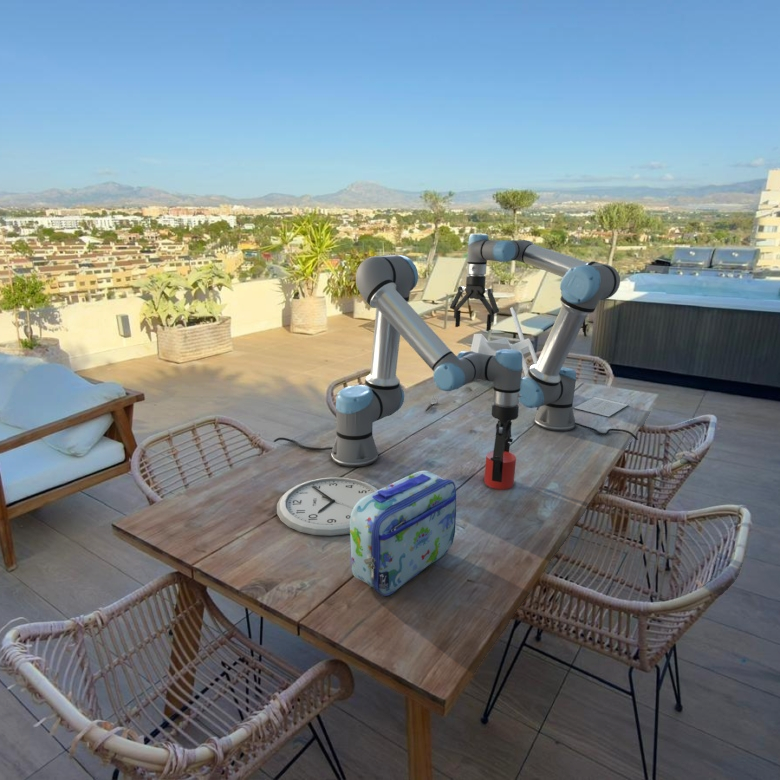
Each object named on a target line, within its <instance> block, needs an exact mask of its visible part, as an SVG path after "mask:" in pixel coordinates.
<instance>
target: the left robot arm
mask: <svg viewBox="0 0 780 780" xmlns="http://www.w3.org/2000/svg"><path fill="white" fill-rule="evenodd" d="M418 281H419V272H418V269H417V266H416V264H415V263H414V262H413V260H412V259H411V258H409V257H407V256H406V255H398V254H391V255H390V254H389V255H374V256H370V257H367V258H366V259H364V260H363V261H362V262H361V263H360V264H359V265H358V267H357V270H356V272H355V285H356V287H357V290H358V291H359V294H360V295H361V297H362V298H363V300H364V301H365V302H366V303H367V304H368V306H370V307H371V308H372V309H375V317H374V318H375V319H374V327H373V328H374V331H373V341H372V352H371V361H370V362H371V363H370V373H369V374H368V375H366V376H365V380H364V385H363V384H354V385H348V386H345V387H343V388H342V389H340V390H339V391H338V392H337V394H336V398H335V399H336V400H335V410H336V411H335V418H336V419H335V421H336V437H335V440H334V443H333V445H332V446H327V447H326V446H325V447H313V446H305V445H302V444H300V443H299V441H296V440H294V439H290V438H287V437H276V438H275V439H274V440H273V441H272V442H273V443H276V442H278V441H285V442H286V441H287V442H290V443H293V444H295V445H296V446H298V447H299V448H302V449H305V450H312V451H328V450H331V455H330V456H331V460H332V462H333V463H335V464H336V465H339V466H340V467H341V466H342V467H347V468H362V467H367V466H370V465H372V464H374V463H376V462H377V460H378V459H379V451H378V448H377V444H376V442H375V439H374V436H373V425H374V424H373V423H375V422H377V421H379V420H382V419H384V418H386V417H389V416H393V415H394V414H395V413H396V412H398V411H399V410H400V409H401V408H402V406H403V404H404V402H405V391H404V389H403V388H402V387H403V386H402V385H401V384H400V383H401V381H400V378H399V377H398V376H397V370H398V369H397V368H398V359H399V350H400V342H401V341H400V340H401V337H402V338H403V340H405V341H406V342H407V344H408V345H409V346H410V347H411V348H412V349H413V351H415V352H416V353H417V355H418V356H419V357H420V358H421V360H423V361H424V362H425V364H426V365H427V366H428V367H429V368H430V369H431V371H433V377H432V378H433V380H434V384H435V385H436V387H437V388H438V389H439V390H441V391H444V392H451V391H455V390H459V389H460V388H462V387H464V386H466V385H468V384H470V383H472V382H475V381H477V380H481V381H487V382H491V383H492V382H493V386H492V397H491V398H492V399H491V401H492V403H491V417H493V418H494V419H497V423H496V425H495V436H494V437H495V438H494V445H493V451H494V452H493V458H491V460H492V461H493V471H492V481H497V482H502V471H503V454H504V451H506V452H509V453H510V447H511V443H513V438H511V437H512V425H513V423H512V421H514V420H516V419H518V417H519V409H520V405H519V404H520V401H519V397H522V394H519V393H520V385H521V378H522V376H523V375H522V374H523V367H522V353H521V352H519V351H517V350H512V349H501V350H498V351H497V352H496V355H488V354H482V353H475V352H473V351H470V350H469V351H467V350H463V351H462V350H461V351H460V352H458V353H457V355H456V354H455V353H454V352H453V351H452V350H451V349H450V348H449V347H448V346H447V344H446V343H445V342H444V341H443V340H442V339H441V338H440V337H439V335H438V334H437V333H436V332H435V331H434V330H433V329H432V328H431V327H430V326H429V324H427V322H426V321H425V320H424V319H423V318H422V317H421V316H420V314H418V312H417V311H416V310H415V309H414V308H413V307H412V305H410V304H409V303H408V302H409V301H410V294H411V292H412V291H413V290H414V289H415V288H416V286H417V284H418V283H419V282H418Z"/></svg>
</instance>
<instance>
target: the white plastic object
mask: <svg viewBox="0 0 780 780" xmlns="http://www.w3.org/2000/svg"><path fill="white" fill-rule="evenodd" d="M509 310H510V313H511V317H512V319H513V323H514V325H515V329H516V332H517V334H518V338H519V341H518V342H515V343H511V342H510V341H509V339H508V337H502V338H498V339H493V340H489V341H488V339H487V338H486V336H484V334H483V333H474V334H473V337H472V342H471V347H470V350H469V351H473V352H475V353H482V354H488V355H496V352H497V351H498V350H501V349H512V350H517V351H519V352H521V353H522V367H523V368H522V371H523V373H524V377H526V375H527V373H528V370H529V368H528V364H527V361H526V358H525V355H526V354H529V353H530V355H531V356H530V357H531V359H532V362H533V365H534V364H536V363H537V361H538V357H537V353H536V351H535V349H534V345H533V343H532V341H531V339H530V338H529V337H528V338H525V336H524V334H523V331H522V327H521V324H520V321H519V318H518V316H517V312H516V311H515V309H514V307H513V306H512V307H510V308H509Z"/></svg>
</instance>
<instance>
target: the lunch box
mask: <svg viewBox="0 0 780 780" xmlns="http://www.w3.org/2000/svg"><path fill="white" fill-rule="evenodd" d="M456 519H457V488H456V484H455V482H454V480H452V479H449V478H448V479H447V478H446V479H445V478H442V477H440V476H439V475H437V474H434V473H432V471H428V470H419V471H417V472H414V473H412V474H410V475H407V476H405V477H403V478H400V479H399V480H396V481H394V482H392V483H390V484H388V485H386V486H384V487H382V488H380V489H379V490H378V491H376V492H374V493H372V494H370V495H367V496H365V497H364V498H362V499H360V500H359V501H358V502H357V503H356V505H355V506H354V508H353V510H352V513H351V517H350V533H349V540H350V566H351V573H352V575H353V577H354V578H355V579H357V580H359V581H362V582H363V583H365V584H367V585H368V586H370V587H371V588H373V589H374V590H375V592H376V593H378V594H379V595H381V596H386V597H387V596H390V595H392V594H394V593H395V592H396V591H398V590H399V589H400V588H401V587H402V586H404V585H405V584H407V583H408V582H409V581H411V580H412V579H413V578H415V577H416V576H418V575H419V574H420V573H421V572H423V571H424V570H425V569H426V568H428V566H430V565H432V564H434V563H435V562H437V561H438V560H440V559H441V558H442V557H444V556H445V555H446V554H447V553H448V552H449V550H450V548H451V547H452V545H453V542H454V539H455V535H456V524H457V523H456V522H457V520H456Z"/></svg>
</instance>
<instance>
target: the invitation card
mask: <svg viewBox="0 0 780 780" xmlns="http://www.w3.org/2000/svg"><path fill="white" fill-rule="evenodd" d="M628 406H629V404H627V403H623V402H618V401H614V400H609V399H605V398H601V397H596V396H593V397H592V398H590V399H588V400H586V401H584V402H582V403H580V404H578V405H575V406H574V407H573V409H575V410H581V411H584V412H587V413H593V414H596V415H600V416H604V417H608V418H609V417H611V416H613V415H614V414H616V413H617V412H619V411H621V410H623V409H624V408H626V407H628Z"/></svg>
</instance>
